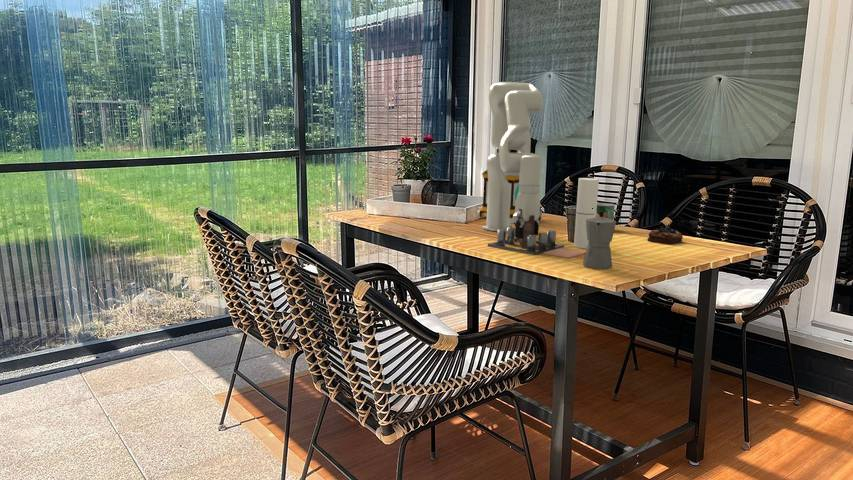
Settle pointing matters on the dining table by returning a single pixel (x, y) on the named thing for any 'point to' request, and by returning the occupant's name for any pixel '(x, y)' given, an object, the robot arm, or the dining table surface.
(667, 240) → the pastry
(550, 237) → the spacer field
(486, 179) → the decorative lantern
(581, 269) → the dining table surface
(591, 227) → the coffeepot
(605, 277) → the dining table surface
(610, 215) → the canned tomato
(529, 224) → the box
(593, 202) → the white tall block
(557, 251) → the mat
